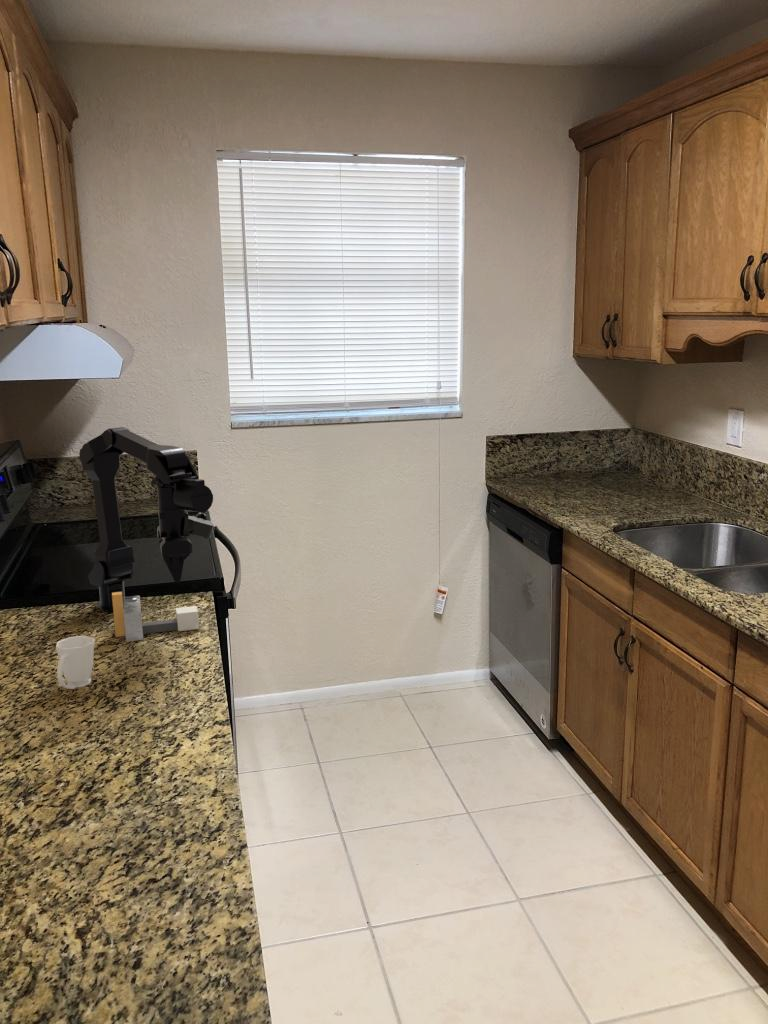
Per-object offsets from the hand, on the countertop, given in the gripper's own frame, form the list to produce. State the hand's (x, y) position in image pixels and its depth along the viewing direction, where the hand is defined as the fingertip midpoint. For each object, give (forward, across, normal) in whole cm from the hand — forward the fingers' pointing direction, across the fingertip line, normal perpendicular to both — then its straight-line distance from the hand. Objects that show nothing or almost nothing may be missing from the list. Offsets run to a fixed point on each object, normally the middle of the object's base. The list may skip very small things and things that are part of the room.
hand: (176, 576), depth 180 cm
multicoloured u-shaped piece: (+11, -2, +5) cm, 12 cm away
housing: (+12, 0, +10) cm, 15 cm away
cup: (+12, -27, +21) cm, 36 cm away
